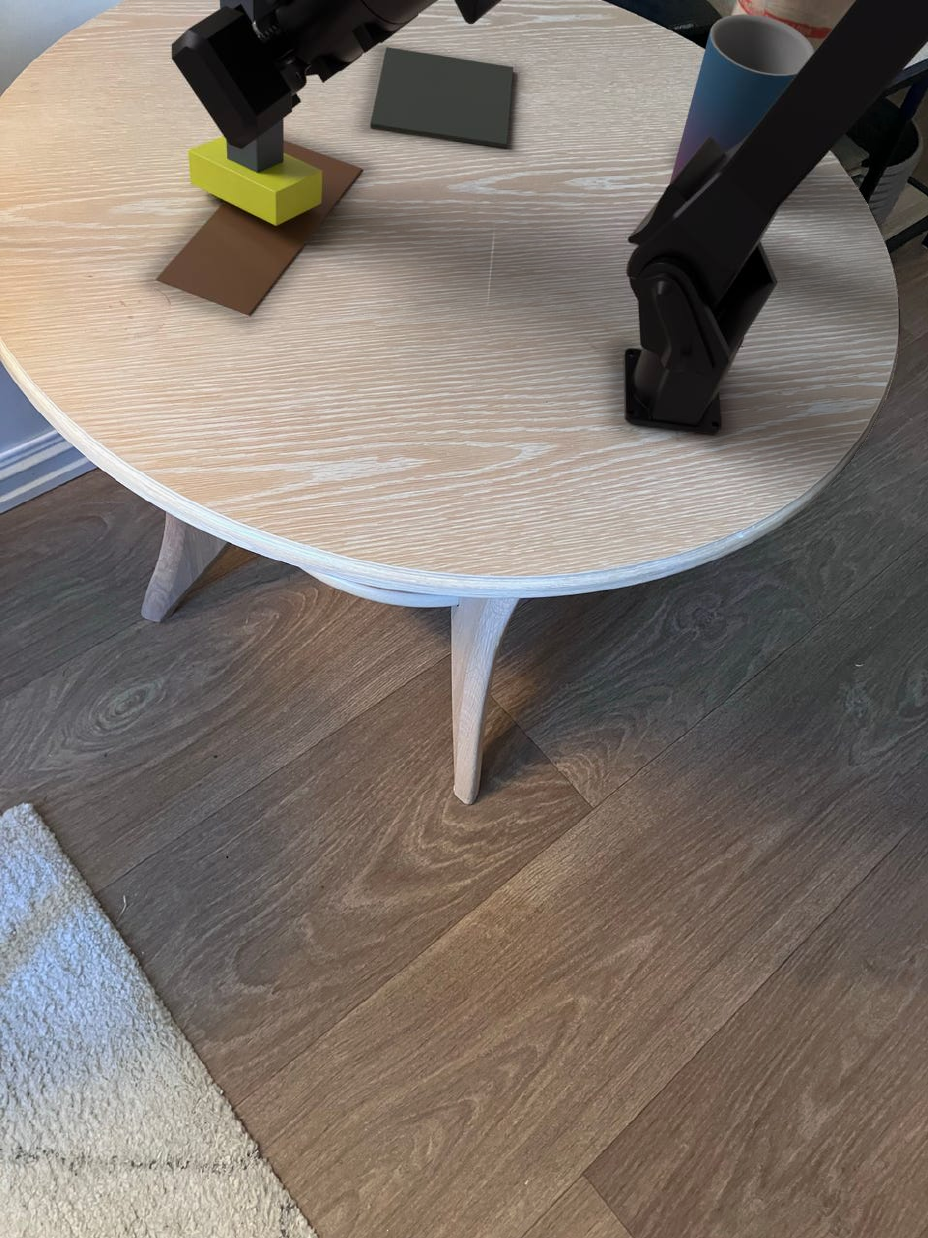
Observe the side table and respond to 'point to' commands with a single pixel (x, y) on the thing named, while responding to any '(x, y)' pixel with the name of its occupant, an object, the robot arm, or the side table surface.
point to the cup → (740, 80)
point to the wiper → (257, 164)
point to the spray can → (799, 14)
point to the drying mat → (443, 98)
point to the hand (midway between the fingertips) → (236, 84)
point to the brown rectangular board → (253, 242)
